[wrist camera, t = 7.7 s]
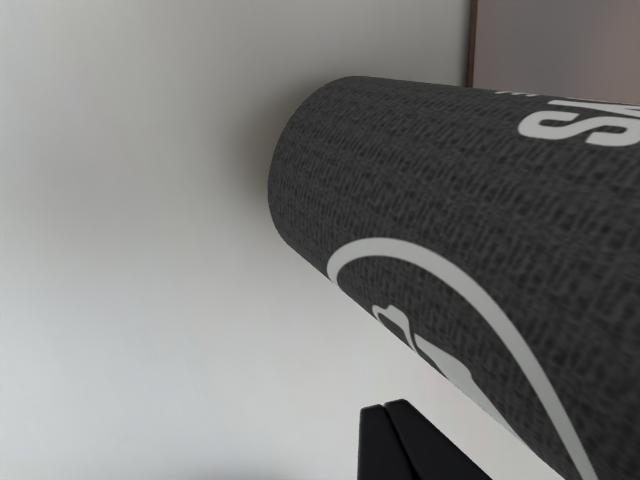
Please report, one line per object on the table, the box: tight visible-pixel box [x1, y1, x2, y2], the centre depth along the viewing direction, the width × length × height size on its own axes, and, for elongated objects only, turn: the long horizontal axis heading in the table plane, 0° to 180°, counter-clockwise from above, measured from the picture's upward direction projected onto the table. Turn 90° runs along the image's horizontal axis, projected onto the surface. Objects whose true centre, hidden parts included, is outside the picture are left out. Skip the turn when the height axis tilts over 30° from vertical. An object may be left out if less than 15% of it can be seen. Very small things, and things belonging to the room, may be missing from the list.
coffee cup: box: [268, 76, 640, 480], centre depth 13 cm, size 10×10×15 cm
